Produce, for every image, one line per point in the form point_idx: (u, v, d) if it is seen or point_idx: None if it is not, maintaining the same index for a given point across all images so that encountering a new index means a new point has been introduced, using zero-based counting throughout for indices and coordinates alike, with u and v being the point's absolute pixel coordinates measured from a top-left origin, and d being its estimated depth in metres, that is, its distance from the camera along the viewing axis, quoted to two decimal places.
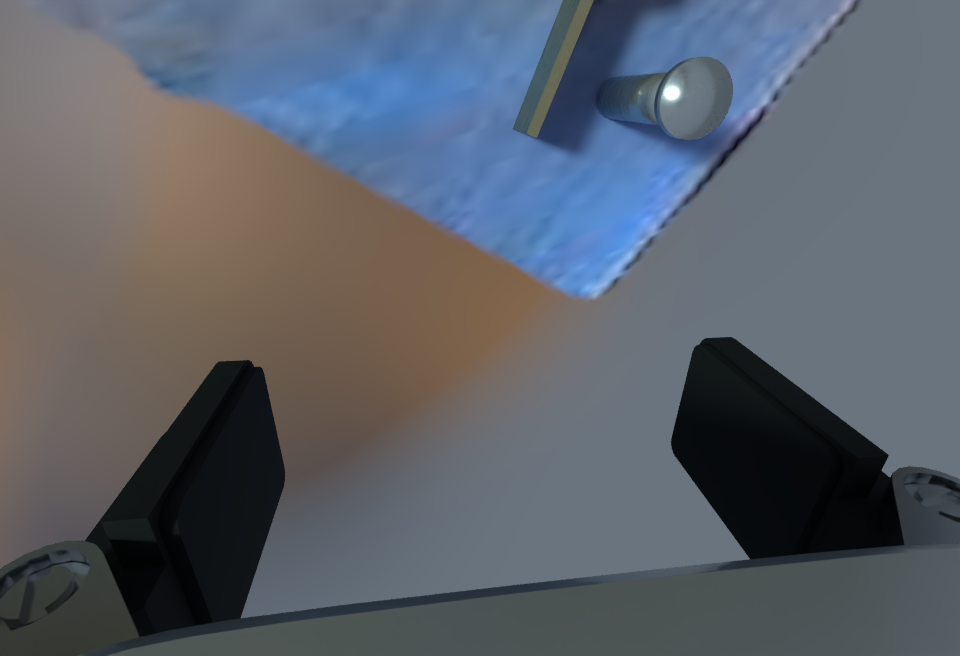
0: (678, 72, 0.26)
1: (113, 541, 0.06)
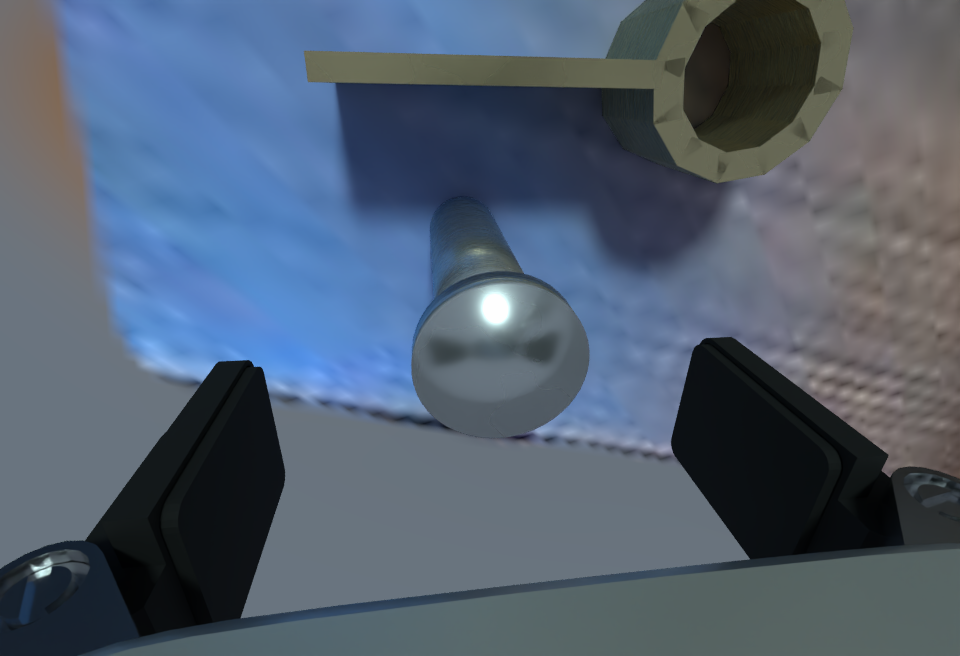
0: (538, 297, 0.10)
1: (113, 541, 0.06)
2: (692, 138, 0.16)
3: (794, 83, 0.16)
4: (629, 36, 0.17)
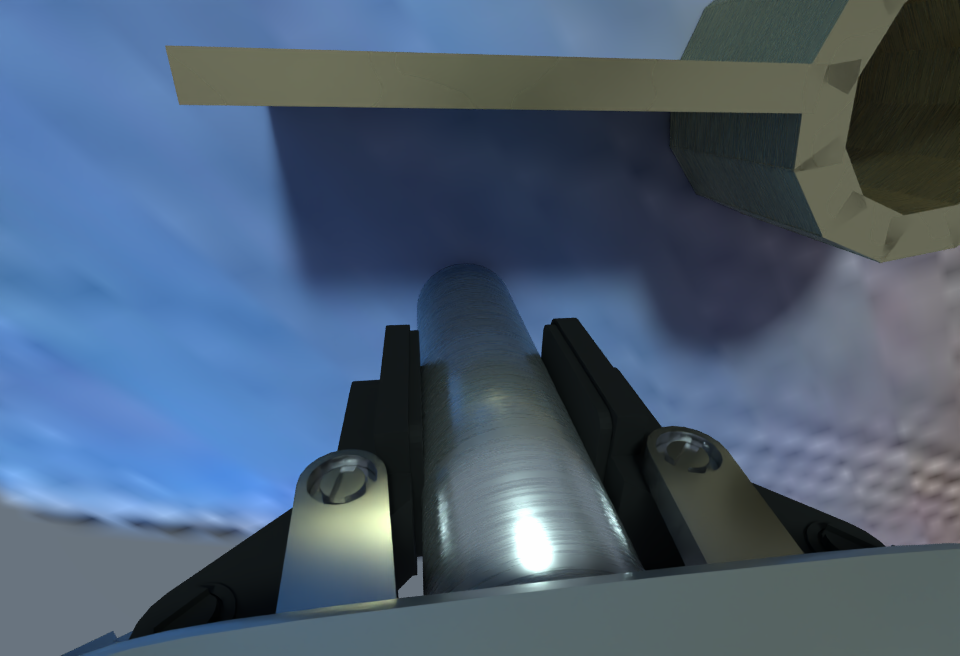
0: None
1: (378, 450, 0.07)
2: (854, 194, 0.10)
3: None
4: (729, 28, 0.11)
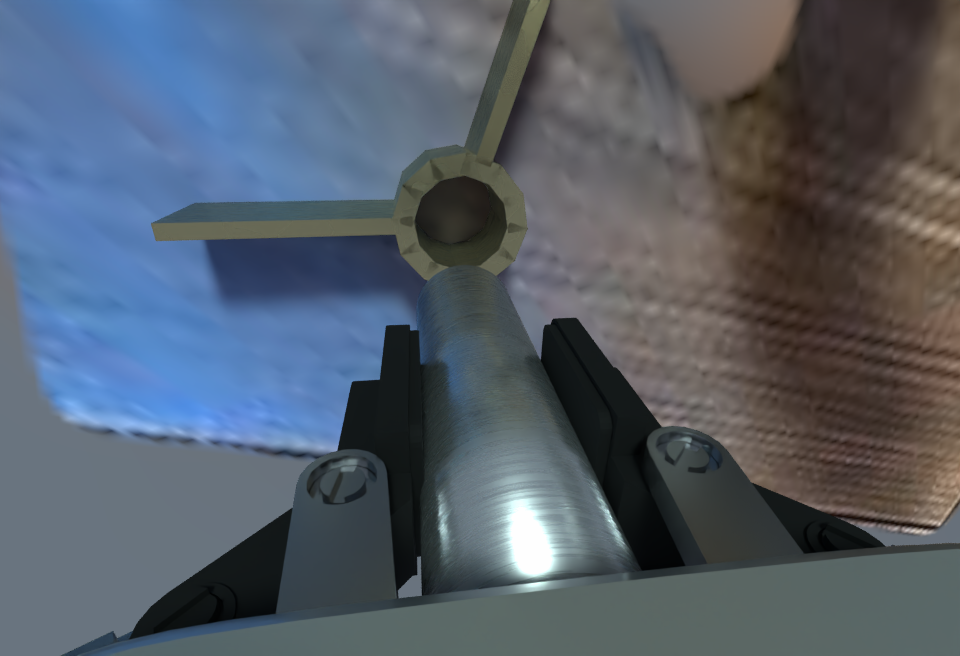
0: None
1: (378, 450, 0.07)
2: (430, 262, 0.24)
3: (503, 222, 0.24)
4: (398, 187, 0.25)
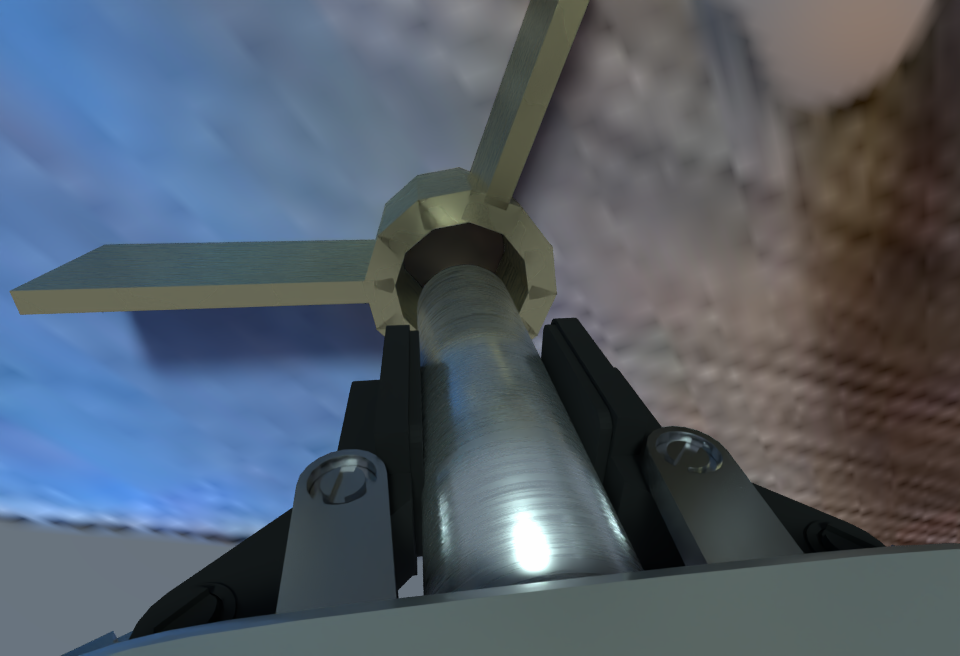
0: None
1: (378, 450, 0.07)
2: None
3: (522, 281, 0.17)
4: None
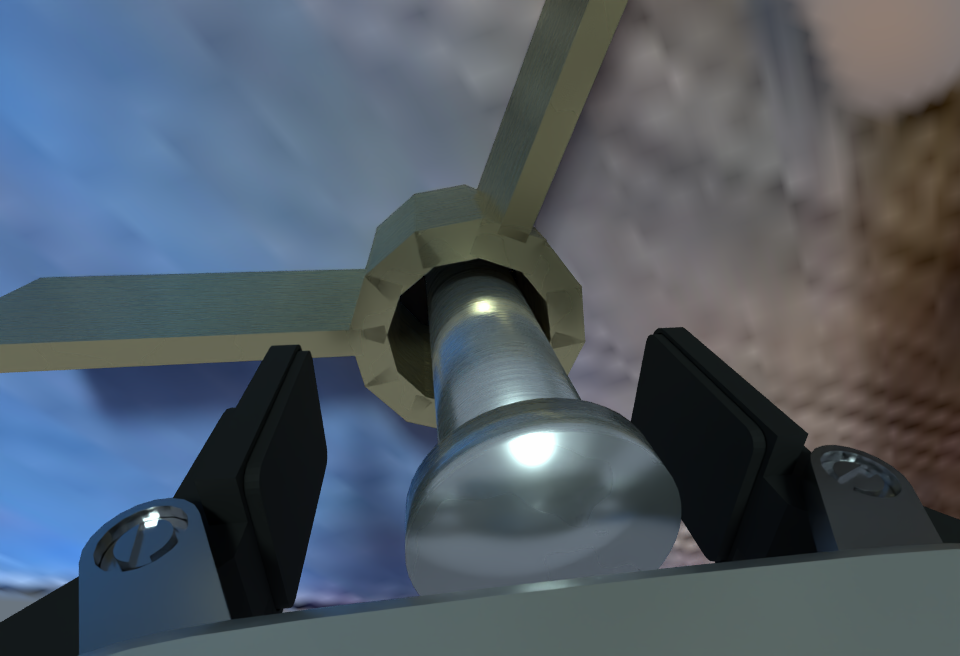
0: (610, 448, 0.06)
1: (203, 499, 0.06)
2: (417, 397, 0.14)
3: (541, 324, 0.14)
4: (368, 259, 0.15)
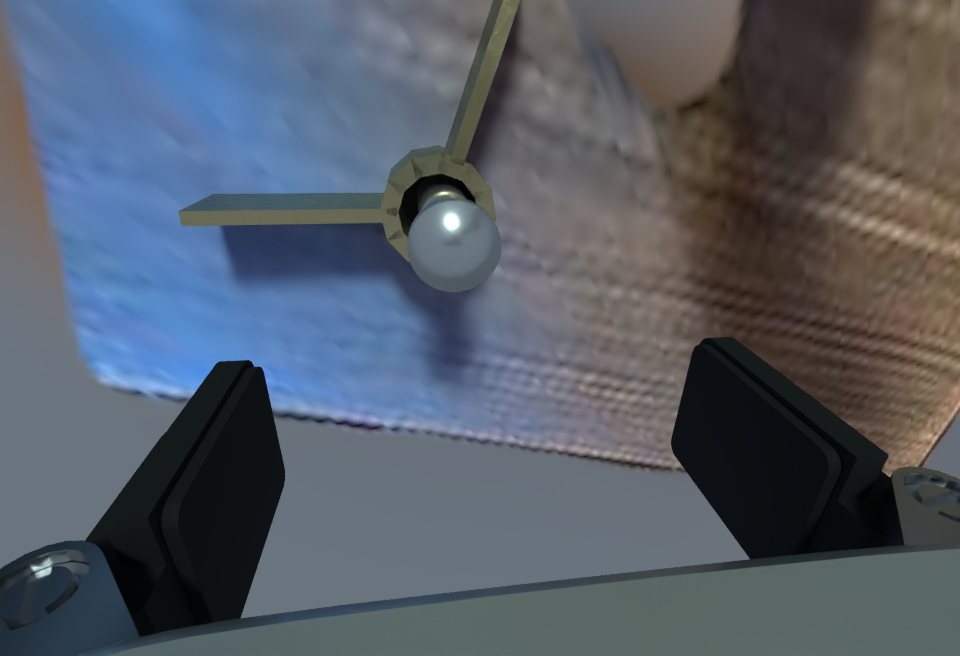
0: (471, 208, 0.20)
1: (113, 541, 0.06)
2: None
3: None
4: None
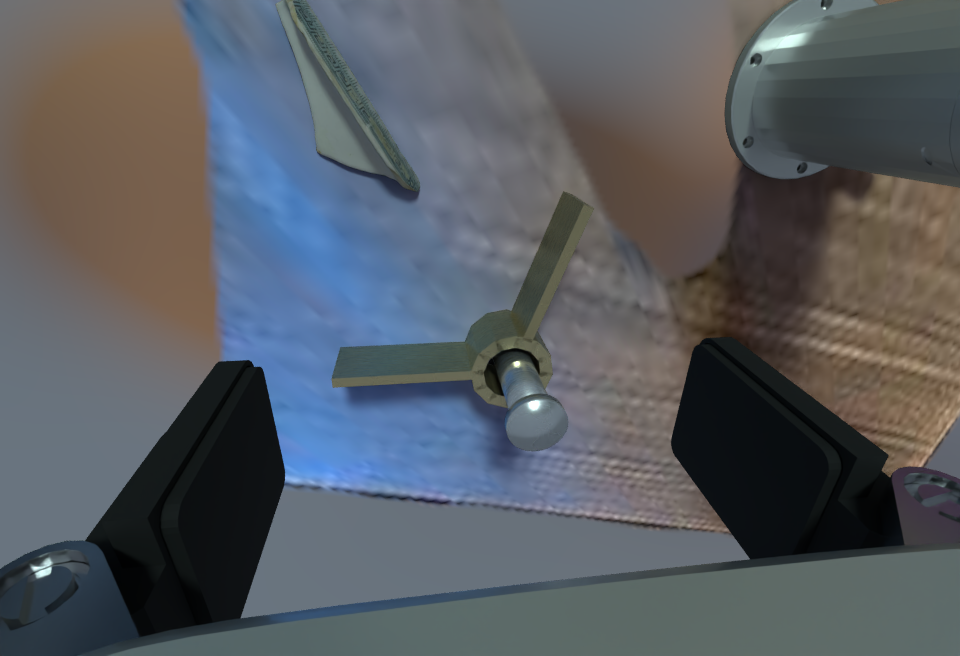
0: (550, 404, 0.31)
1: (113, 541, 0.06)
2: (492, 394, 0.38)
3: (537, 367, 0.39)
4: (470, 341, 0.40)
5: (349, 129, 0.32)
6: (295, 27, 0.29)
